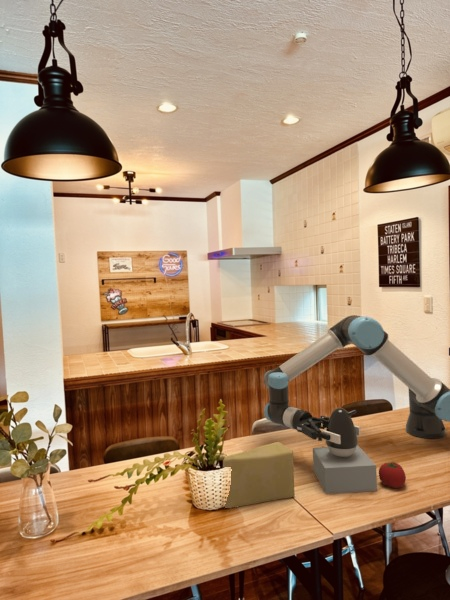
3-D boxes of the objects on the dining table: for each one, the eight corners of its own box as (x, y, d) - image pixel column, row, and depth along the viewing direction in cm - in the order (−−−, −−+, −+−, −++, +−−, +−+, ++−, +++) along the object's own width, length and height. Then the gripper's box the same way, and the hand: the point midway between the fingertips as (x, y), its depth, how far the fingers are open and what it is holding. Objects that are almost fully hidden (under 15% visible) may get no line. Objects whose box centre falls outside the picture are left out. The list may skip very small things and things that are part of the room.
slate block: (358, 467, 138) (357, 445, 138) (377, 490, 122) (376, 465, 122) (313, 470, 138) (312, 447, 138) (326, 493, 122) (324, 468, 122)
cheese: (230, 517, 112) (227, 465, 112) (217, 501, 121) (215, 452, 121) (296, 498, 120) (294, 449, 120) (280, 484, 129) (278, 439, 129)
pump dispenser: (363, 459, 125) (361, 412, 124) (330, 461, 125) (328, 413, 124) (353, 446, 135) (351, 403, 134) (322, 448, 135) (320, 404, 135)
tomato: (406, 493, 120) (405, 469, 120) (378, 488, 123) (377, 465, 123) (406, 481, 127) (405, 458, 127) (379, 477, 131) (378, 455, 130)
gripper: (318, 422, 151) (370, 437, 134) (276, 437, 138) (328, 457, 120) (317, 403, 151) (369, 415, 134) (275, 416, 138) (327, 432, 120)
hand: (349, 435), depth 127 cm, fingers closed on pump dispenser, 10 cm apart
